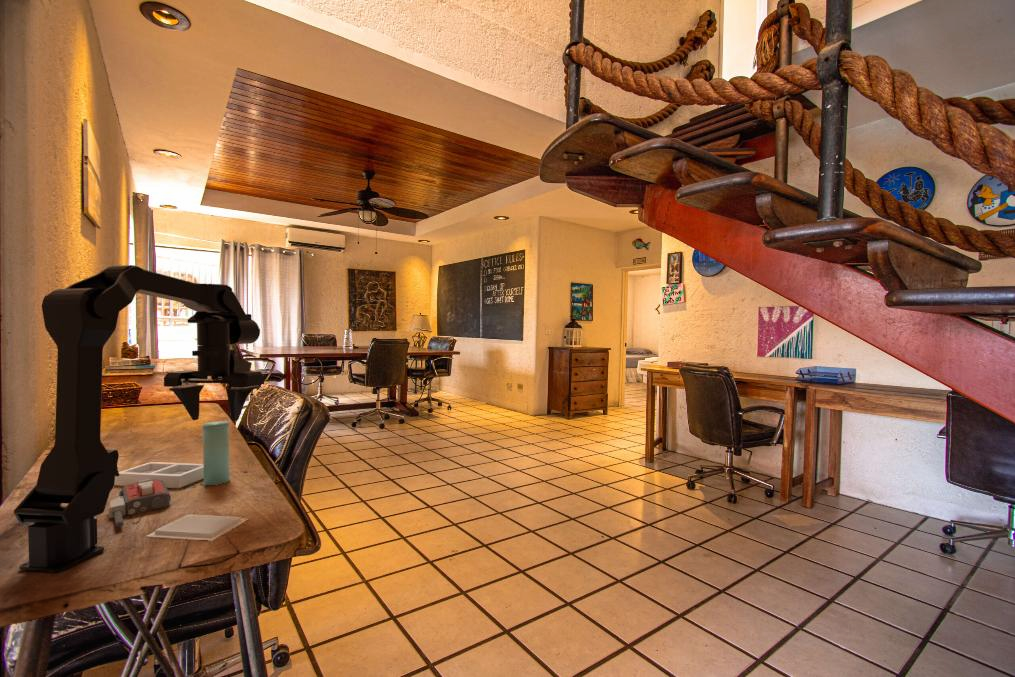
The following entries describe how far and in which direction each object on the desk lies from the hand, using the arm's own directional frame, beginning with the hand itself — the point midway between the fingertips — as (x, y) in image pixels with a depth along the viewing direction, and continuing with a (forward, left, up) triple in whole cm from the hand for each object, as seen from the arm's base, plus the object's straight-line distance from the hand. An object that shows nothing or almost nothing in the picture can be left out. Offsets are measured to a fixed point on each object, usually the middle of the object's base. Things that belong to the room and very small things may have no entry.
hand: (215, 420), depth 92 cm
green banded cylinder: (+5, +4, -15) cm, 16 cm away
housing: (+5, +17, -15) cm, 23 cm away
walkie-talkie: (-10, +7, -15) cm, 20 cm away
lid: (-16, -11, -15) cm, 25 cm away
